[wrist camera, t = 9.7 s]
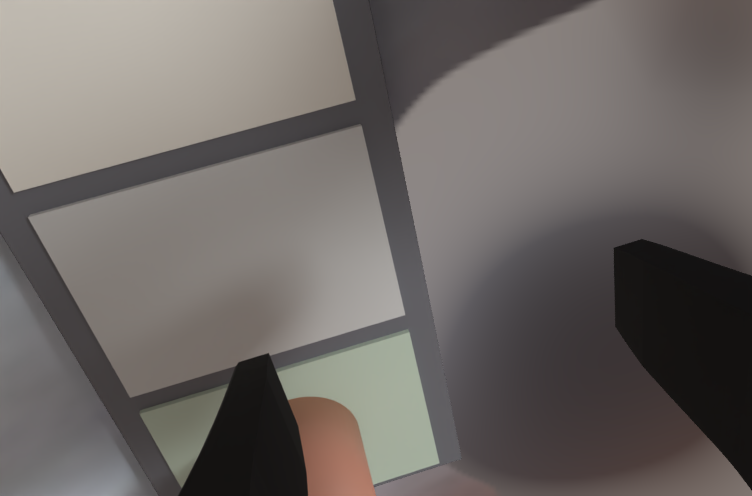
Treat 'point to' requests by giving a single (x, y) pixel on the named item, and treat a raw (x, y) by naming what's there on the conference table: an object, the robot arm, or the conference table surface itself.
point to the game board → (220, 216)
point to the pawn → (331, 448)
